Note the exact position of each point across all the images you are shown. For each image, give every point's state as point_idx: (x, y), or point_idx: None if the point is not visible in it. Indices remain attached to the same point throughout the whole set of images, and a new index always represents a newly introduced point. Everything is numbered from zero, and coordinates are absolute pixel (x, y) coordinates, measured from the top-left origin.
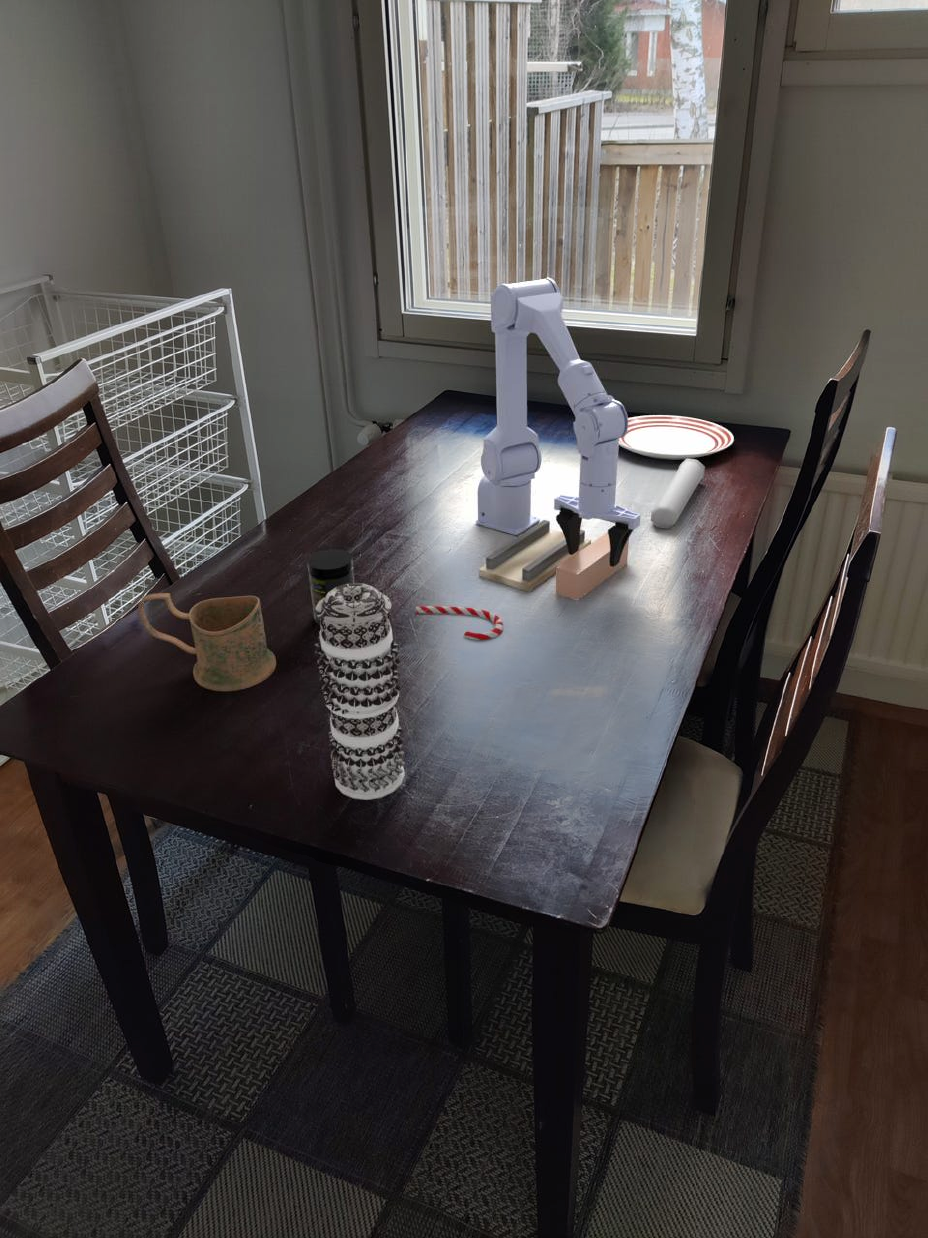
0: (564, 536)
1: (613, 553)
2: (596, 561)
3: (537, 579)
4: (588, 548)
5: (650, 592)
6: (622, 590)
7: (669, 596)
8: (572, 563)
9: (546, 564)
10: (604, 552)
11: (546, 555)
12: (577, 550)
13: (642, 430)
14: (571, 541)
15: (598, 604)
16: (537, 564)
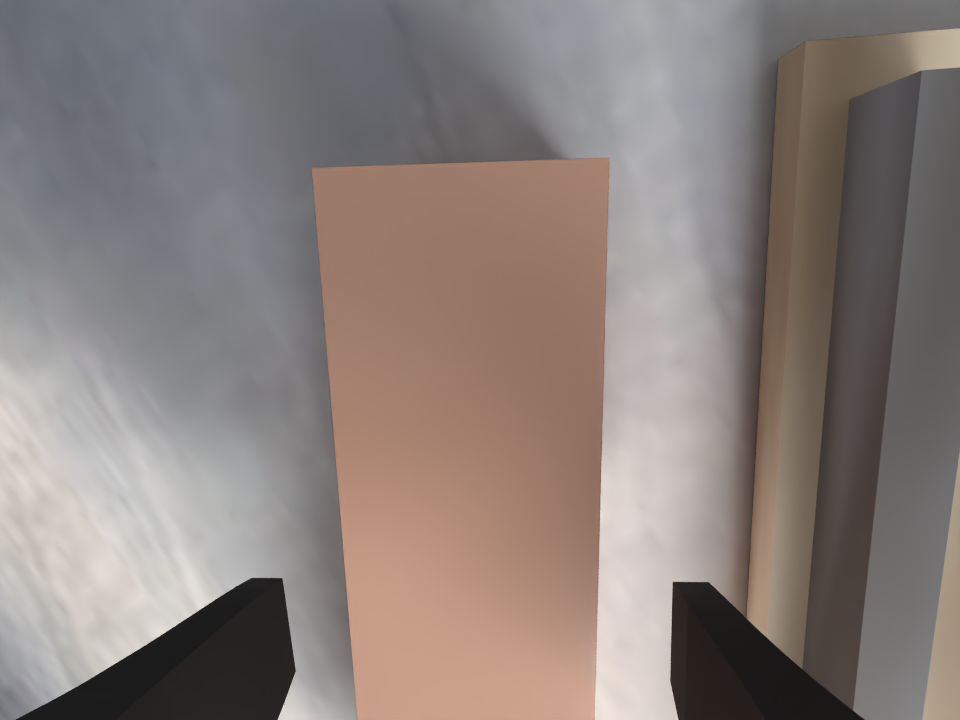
0: (851, 709)
1: (144, 656)
2: (346, 532)
3: (794, 189)
4: (556, 711)
5: (112, 556)
6: (246, 488)
7: (11, 572)
8: (505, 348)
9: (844, 408)
10: (385, 713)
11: (910, 475)
12: (673, 673)
13: None
14: (726, 685)
15: (248, 235)
16: (900, 259)
